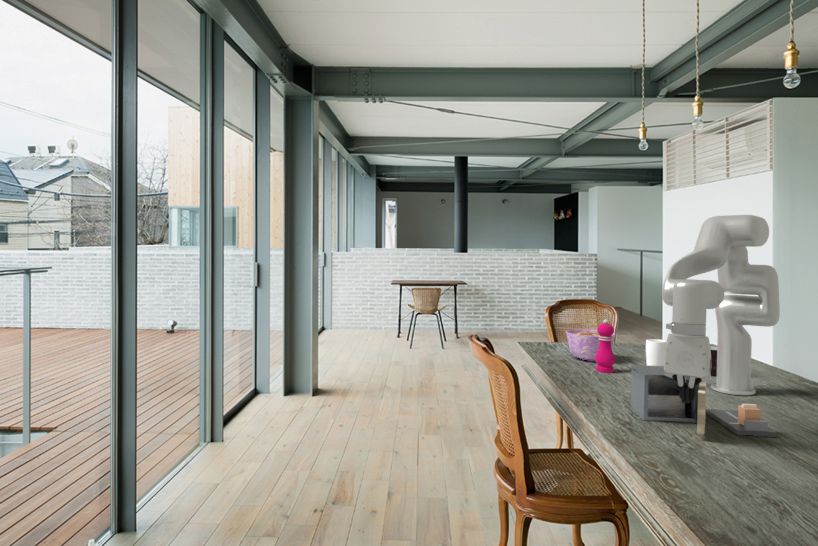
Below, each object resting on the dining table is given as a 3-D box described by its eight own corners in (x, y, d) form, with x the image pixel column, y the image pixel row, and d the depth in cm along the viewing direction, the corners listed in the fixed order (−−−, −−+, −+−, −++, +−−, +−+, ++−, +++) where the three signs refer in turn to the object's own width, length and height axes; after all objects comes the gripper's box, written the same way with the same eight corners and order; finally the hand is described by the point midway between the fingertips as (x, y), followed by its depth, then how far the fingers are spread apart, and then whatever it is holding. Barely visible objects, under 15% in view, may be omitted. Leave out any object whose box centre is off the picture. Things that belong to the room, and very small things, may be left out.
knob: (752, 422, 134) (753, 402, 134) (760, 427, 130) (760, 406, 130) (737, 421, 134) (738, 402, 134) (744, 426, 131) (745, 406, 131)
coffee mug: (718, 372, 198) (718, 346, 198) (729, 377, 190) (730, 350, 189) (686, 371, 199) (686, 345, 199) (696, 376, 191) (696, 349, 191)
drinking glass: (644, 384, 179) (645, 341, 179) (645, 380, 185) (646, 338, 185) (666, 386, 176) (667, 342, 176) (666, 382, 182) (667, 339, 182)
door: (698, 423, 138) (699, 380, 138) (705, 424, 137) (706, 381, 137) (696, 439, 126) (697, 392, 125) (703, 440, 125) (705, 393, 125)
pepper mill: (617, 373, 196) (618, 320, 195) (598, 373, 196) (599, 320, 195) (610, 369, 203) (611, 318, 202) (592, 368, 203) (593, 318, 202)
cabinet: (681, 409, 151) (682, 366, 150) (698, 422, 139) (699, 376, 138) (630, 407, 152) (631, 365, 152) (643, 420, 140) (644, 374, 140)
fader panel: (740, 414, 146) (740, 401, 146) (776, 437, 128) (777, 422, 128) (705, 413, 147) (706, 400, 147) (737, 435, 129) (737, 421, 129)
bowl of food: (576, 353, 235) (576, 327, 235) (621, 358, 223) (621, 332, 222) (557, 360, 220) (558, 333, 220) (605, 366, 207) (606, 337, 207)
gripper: (652, 328, 133) (650, 399, 133) (719, 334, 123) (717, 411, 124) (661, 325, 139) (659, 394, 139) (725, 331, 129) (723, 405, 129)
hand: (686, 402), depth 131 cm, fingers closed
